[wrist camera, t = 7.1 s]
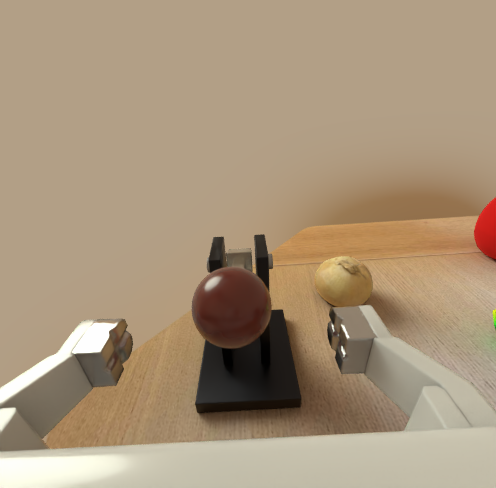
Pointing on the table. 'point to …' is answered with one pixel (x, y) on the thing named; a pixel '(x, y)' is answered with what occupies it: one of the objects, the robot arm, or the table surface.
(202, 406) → the bracket
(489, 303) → the table surface
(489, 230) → the tomato
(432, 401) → the robot arm
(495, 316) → the apple
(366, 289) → the onion
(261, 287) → the lever
